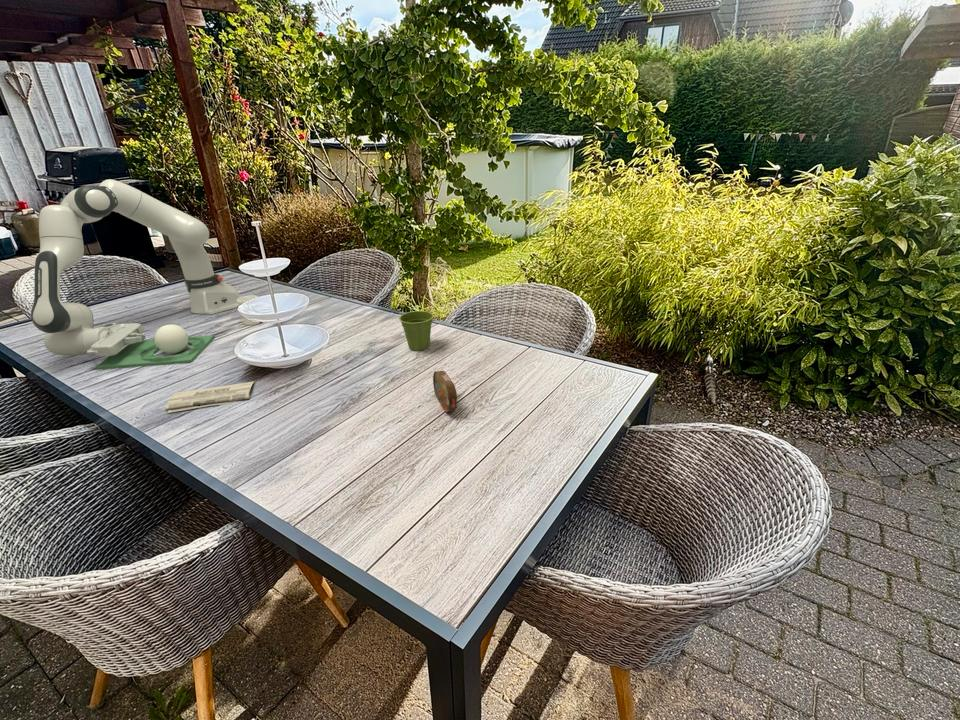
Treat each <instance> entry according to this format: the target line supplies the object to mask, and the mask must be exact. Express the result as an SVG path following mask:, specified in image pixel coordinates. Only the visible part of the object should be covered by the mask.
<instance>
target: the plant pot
mask: <svg viewBox="0 0 960 720" xmlns="http://www.w3.org/2000/svg"><path fill="white" fill-rule="evenodd" d="M433 318H435V315H434V313H433V312H430V311H427V310H412V311H408V312H405V313H402V314H401V315H399V317H398V320H399V321H400V323H401V326H402V327H403V330H404V334H405V338H406V341H407V346H408V348H409V349H410V350H412V351H420V350H421V351H422V350H424V351H425V350H427V349H428V348H429V347H430V344H431V332H432V330H431V329H432V323H433Z"/></svg>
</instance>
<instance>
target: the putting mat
mask: <svg viewBox="0 0 960 720" xmlns="http://www.w3.org/2000/svg"><path fill="white" fill-rule="evenodd" d="M215 338H216V337H215V335H214V334H213V335H211V334H210V335H209V334H208V335H197V336H196V335H195V336H188V344H187V346H188V345H189V346H191V348H189V349H188V350H186V351H184V352H181V353H176V354H173V355H168V356H165V355H164V356H159V355H156V354H157V353H158V352H159V350H160V349H159V348H158V347H157V346H156V344H155V341H154V339H153V338H152V339H144V340H143V341H142V342H136V343H133V344H129V345H128V346H126V347H125V348H124V349H122V350H121V351H120V352H119V353H117V354H116V355H113V356H107V358H104V360H103V361H101V362H100V363H99V364H97V365H95V369H98V370H108V369H109V370H110V369H123V368H137V367H152V366H162V365H163V366H164V365H166V364H167V365H176V364H175V363H181V364H191V362H192V361H193V360H194V359H195V358H196V359H197V357H198V356H200V354H201V353H202V352H203V351H204V350H205V349H206V348H207V347H208V346H209V345H210V344H211V342H213V340H215ZM160 351H161V350H160ZM154 354H155V355H154ZM196 359H195V360H196ZM195 360H194V361H195ZM192 363H193V362H192Z"/></svg>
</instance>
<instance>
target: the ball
mask: <svg viewBox="0 0 960 720" xmlns="http://www.w3.org/2000/svg"><path fill="white" fill-rule="evenodd" d="M188 337H189V336H188V332H187V331H186V330H185V329H184V328H183V327H181V326H179V325H177V324H166V325H163V326H161V327H159V328H158V329H157V330H156V332H155V334H154V341H155V344H156V346H157V347H158V348H159V349H160V351H162V352H164V353H167V354H178V353H180V352H182V351H184V349H185V348H186V347H187V346H188Z"/></svg>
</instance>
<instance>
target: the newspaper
mask: <svg viewBox="0 0 960 720" xmlns="http://www.w3.org/2000/svg"><path fill="white" fill-rule="evenodd" d="M255 383H256V381H255V380H254V381H248V382H240V383H234V384H226V385H221V386H220V385H218V386H213V387H205V388H198V389H197V388H196V389H191V390H185V391H176V392H175V393H173V395H172V396H171V397H170V398H169V399H168V402H167V403H166V404H165V408H164V409H165V411H167V414H169V413H175V412H180V411H186V410H192V409H193V410H194V409H199V408H204V407H211V406H221V405H229V404H233V403H237V402H239V401H240V402H241V401H242V400H248V399H250V396H251V388H252V386H253V384H255ZM205 404H206V405H205ZM198 405H200V406H198Z"/></svg>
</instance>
